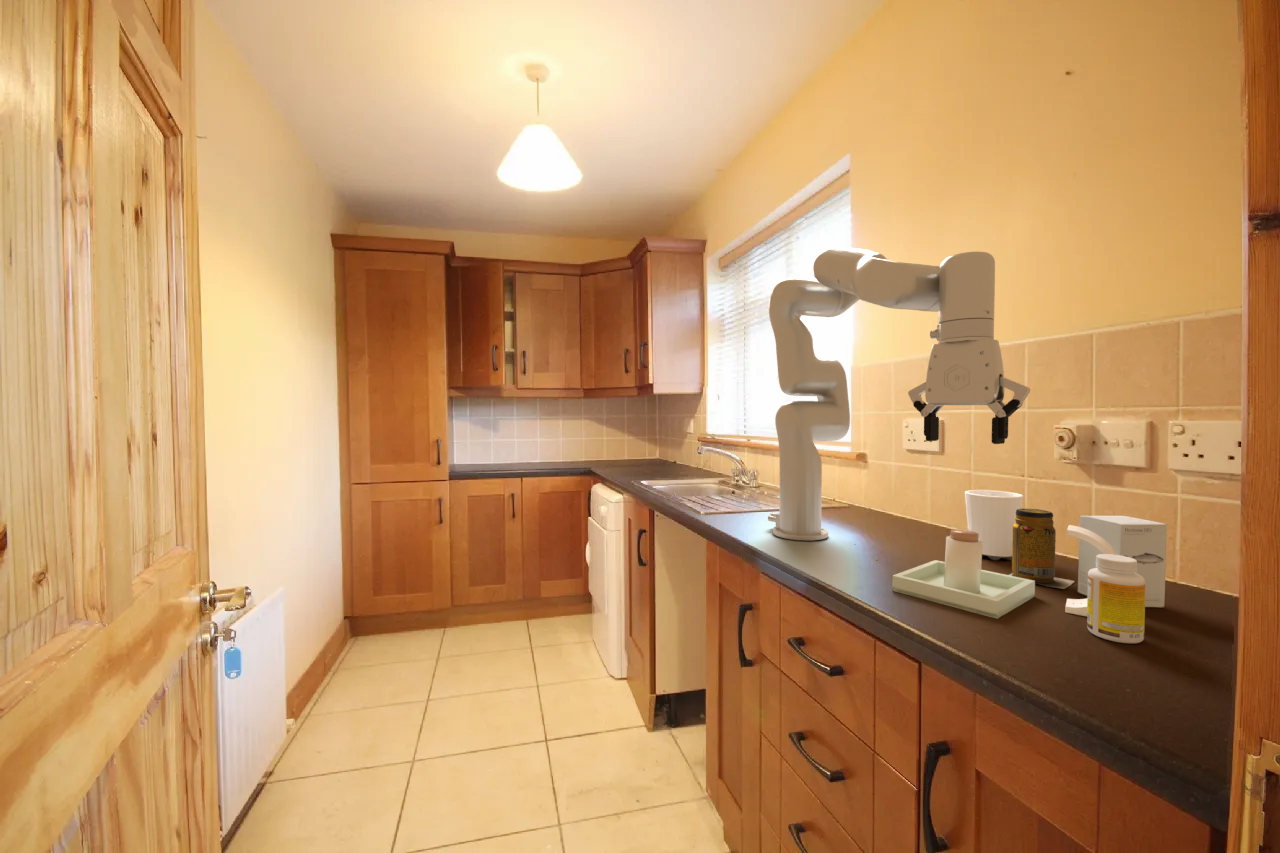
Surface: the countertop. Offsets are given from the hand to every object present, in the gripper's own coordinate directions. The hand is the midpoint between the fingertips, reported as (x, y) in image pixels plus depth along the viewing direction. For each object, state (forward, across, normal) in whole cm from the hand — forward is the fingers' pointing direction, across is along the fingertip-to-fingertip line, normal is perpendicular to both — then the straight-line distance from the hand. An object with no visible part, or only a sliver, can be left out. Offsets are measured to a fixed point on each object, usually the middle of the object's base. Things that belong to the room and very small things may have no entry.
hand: (963, 442), depth 85 cm
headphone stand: (+24, +15, +6) cm, 29 cm away
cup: (+24, -6, +29) cm, 38 cm away
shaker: (+24, 0, 0) cm, 24 cm away
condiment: (+24, +5, +18) cm, 31 cm away
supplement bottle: (+24, +19, -2) cm, 31 cm away
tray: (+24, 0, 0) cm, 24 cm away
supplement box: (+24, +16, +16) cm, 33 cm away
